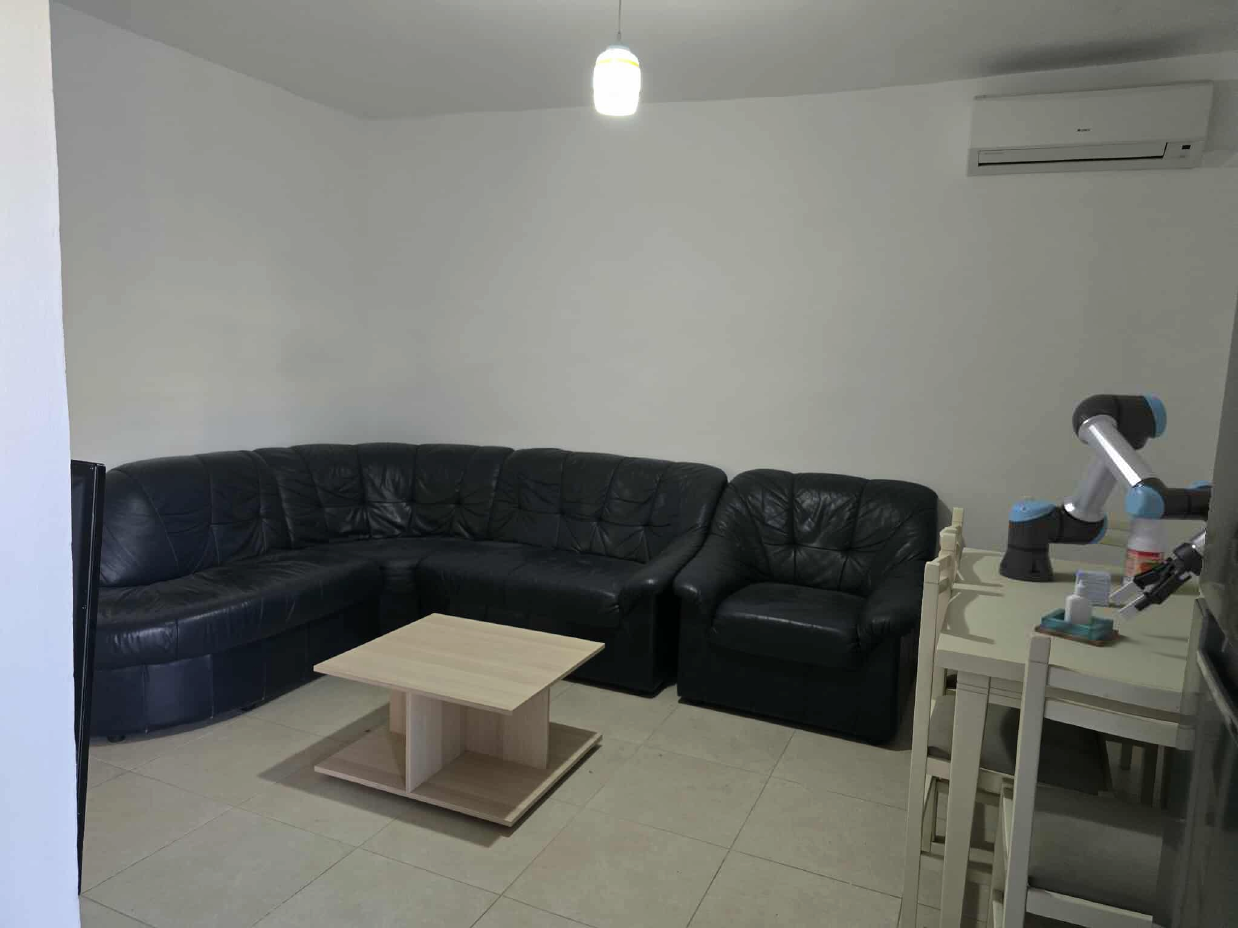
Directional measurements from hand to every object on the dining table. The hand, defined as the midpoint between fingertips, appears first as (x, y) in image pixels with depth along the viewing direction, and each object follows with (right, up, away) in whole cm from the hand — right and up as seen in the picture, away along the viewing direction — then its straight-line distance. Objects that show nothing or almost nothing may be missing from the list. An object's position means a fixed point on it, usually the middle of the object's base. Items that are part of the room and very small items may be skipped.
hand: (1117, 608), depth 190 cm
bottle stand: (-7, -7, +4) cm, 11 cm away
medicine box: (+12, -4, +31) cm, 33 cm away
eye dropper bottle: (-7, -6, +4) cm, 10 cm away
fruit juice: (+37, -3, +48) cm, 60 cm away
